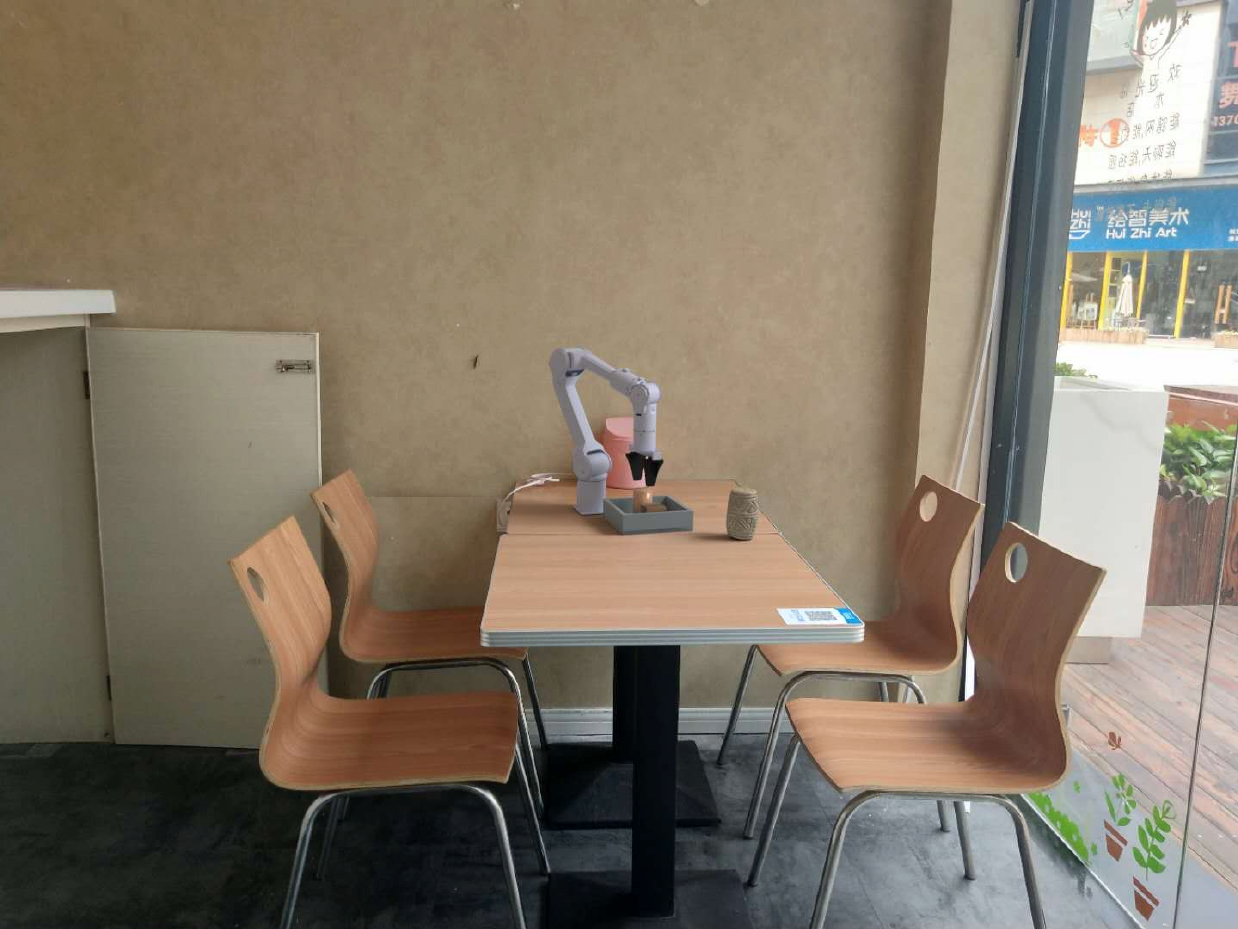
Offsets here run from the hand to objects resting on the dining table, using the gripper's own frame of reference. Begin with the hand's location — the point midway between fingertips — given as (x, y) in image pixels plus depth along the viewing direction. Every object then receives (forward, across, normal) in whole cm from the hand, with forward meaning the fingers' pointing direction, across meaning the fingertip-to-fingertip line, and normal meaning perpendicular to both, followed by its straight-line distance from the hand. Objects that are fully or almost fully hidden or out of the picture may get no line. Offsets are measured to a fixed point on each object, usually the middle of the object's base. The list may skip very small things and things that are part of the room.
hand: (643, 483), depth 230 cm
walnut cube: (+9, +8, -1) cm, 12 cm away
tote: (+10, +3, 0) cm, 10 cm away
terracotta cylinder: (+9, 0, 0) cm, 9 cm away
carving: (+10, +23, +15) cm, 29 cm away
